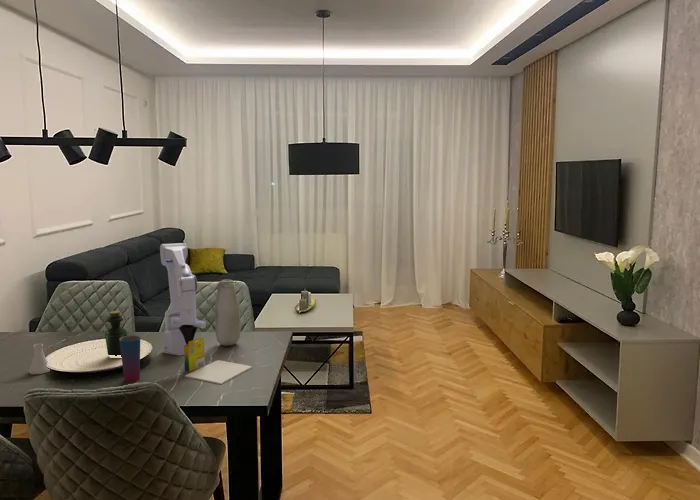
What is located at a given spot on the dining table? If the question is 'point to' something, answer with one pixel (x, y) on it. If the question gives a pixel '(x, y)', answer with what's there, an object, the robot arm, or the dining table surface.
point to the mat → (218, 372)
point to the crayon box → (194, 354)
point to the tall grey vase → (227, 313)
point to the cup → (130, 357)
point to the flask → (38, 361)
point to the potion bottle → (114, 333)
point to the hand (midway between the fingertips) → (189, 344)
